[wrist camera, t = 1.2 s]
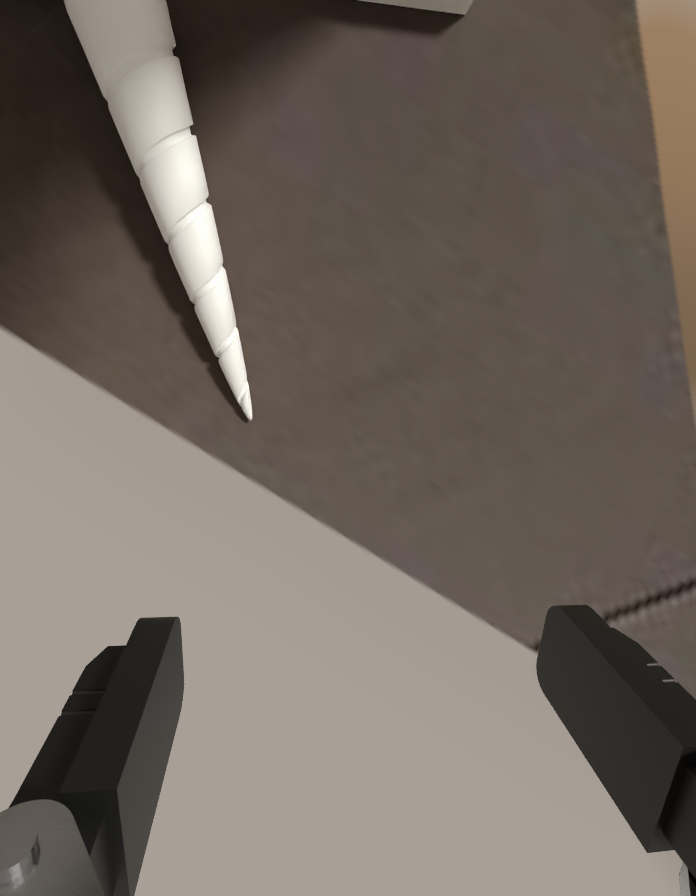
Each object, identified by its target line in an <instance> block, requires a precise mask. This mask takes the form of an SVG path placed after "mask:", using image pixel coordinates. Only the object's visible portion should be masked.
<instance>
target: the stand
mask: <svg viewBox="0 0 696 896" xmlns="http://www.w3.org/2000/svg"><path fill="white" fill-rule="evenodd" d="M359 1H366V2H374V3H381V4H388V5H396V6H403V7H410V8H418V9H425V10H433V11H440V12H447V13H455V14H462V15H465V14H466V13H467V11H468V9H469V8H470V6H471V4H472V2H473V1H474V0H359Z"/></svg>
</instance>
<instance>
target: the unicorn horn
mask: <svg viewBox="0 0 696 896" xmlns="http://www.w3.org/2000/svg"><path fill="white" fill-rule="evenodd" d="M64 3H65V7H66V10H67V13H68V15H69V17H70V20H71V22H72V24H73V26H74V29H75V31H76V33H77V36H78V38H79V40H80V43H81V45H82V47H83V50H84V52H85V54H86V57H87V59H88V61H89V64H90V66H91V69H92V71H93V73H94V76H95V78H96V80H97V83H98V85H99V87H100V90H101V92H102V95H103V97H104V98H105V99H106V100H107V102H108V108H109V111H110V114H111V116H112V118H113V121H114V123H115V125H116V128H117V130H118V133H119V135H120V137H121V140H122V142H123V144H124V147H125V149H126V151H127V154H128V156H129V159H130V161H131V163H132V166H133V168H134V170H135V173H136V174H137V176H138V177H139V178H140V184H141V187H142V189H143V192H144V194H145V196H146V199H147V201H148V204H149V206H150V208H151V211H152V213H153V215H154V218H155V220H156V222H157V225H158V227H159V229H160V232H161V234H162V236H163V239H164V241H165V242H166V243H167V244H168V245H169V253H170V255H171V257H172V260H173V262H174V264H175V267H176V269H177V271H178V273H179V276H180V278H181V280H182V283H183V285H184V287H185V289H186V292H187V294H188V296H189V299H190V301H191V302H192V303H194V304H196V305H195V312H196V314H197V317H198V319H199V321H200V323H201V325H202V328H203V330H204V332H205V334H206V336H207V339H208V341H209V343H210V345H211V347H212V350H213V352H214V354H215V355H216V356H217V357H218V358H219V360H218V361H219V365H220V367H221V369H222V371H223V373H224V375H225V377H226V379H227V381H228V383H229V385H230V387H231V389H232V391H233V393H234V395H235V397H236V399H237V401H238V403H239V405H240V406H241V407H242V410H243V412H244V413H245V415H246V416H247V418H248V419H249V420H252V405H251V398H250V391H249V386H248V382H247V374H246V369H245V363H244V358H243V353H242V348H241V343H240V338H239V333H238V329H237V328H236V318H235V313H234V308H233V304H232V299H231V294H230V289H229V284H228V280H227V275H226V271H225V269H224V268H223V266H222V264H223V256H222V252H221V247H220V242H219V238H218V233H217V229H216V224H215V220H214V215H213V211H212V206H211V205H210V204H208V203H206V199H207V197H208V195H209V193H208V188H207V183H206V179H205V174H204V170H203V165H202V161H201V156H200V152H199V147H198V143H197V138H196V136H195V135H191V132H190V127H189V126H191V125H193V120H192V116H191V111H190V107H189V102H188V98H187V93H186V89H185V84H184V80H183V75H182V71H181V66H180V61H179V58H177V57H176V56H173V51H172V50H173V49H174V48H175V47H176V43H175V39H174V34H173V30H172V26H171V21H170V16H169V12H168V7H167V2H166V0H64Z"/></svg>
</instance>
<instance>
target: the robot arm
mask: <svg viewBox="0 0 696 896" xmlns="http://www.w3.org/2000/svg"><path fill="white" fill-rule="evenodd" d="M537 676H538V680H539V683H540V686H541V689H542V691H543V693H544V694H545V696H546V698H547V699H548V701H549V702H550V704H551V705H552V706H553V708H554V710H555V711H556V713H557V714H558V716H559V718H560V719H561V721H562V722H563V724H564V725H565V727H566V728H567V730H568V731H569V733H570V735H571V736H572V738H573V739H574V741H575V742H576V744H577V745H578V747H579V748H580V750H581V751H582V753H583V755H584V756H585V758H586V759H587V761H588V762H589V764H590V765H591V767H592V768H593V770H594V771H595V773H596V775H597V776H598V778H599V779H600V781H601V782H602V784H603V785H604V787H605V788H606V790H607V792H608V793H609V795H610V796H611V798H612V799H613V801H614V802H615V804H616V805H617V807H618V808H619V810H620V812H621V813H622V815H623V816H624V818H625V819H626V821H627V822H628V824H629V825H630V827H631V828H632V830H633V832H634V833H635V835H636V836H637V838H638V839H639V841H640V842H641V844H642V846H643V847H644V848H645V850H646V852H647V853H651V852H660V851H668V850H675V851H676V852H677V854H678V855H679V856H680V858H681V859H682V861H683V864H682V866H681V869H680V873H679V883H680V896H696V700H695V699H694V698H693V697H692V696H691V695H690V694H689V693H688V692H687V691H686V690H685V689H684V688H683V687H682V686H681V685H680V684H679V683H675V682H674V678H673V677H672V676H671V675H670V674H669V673H668V672H667V671H666V670H665V669H664V668H663V667H662V666H658V662H657V661H656V660H655V659H654V658H653V657H652V656H651V655H650V654H649V653H648V652H647V651H646V650H645V649H644V648H643V647H642V646H640V645H639V644H638V643H637V642H635V641H634V640H632V639H631V638H629V637H627V636H626V635H624V634H623V633H621V632H620V631H618V630H616V629H615V628H611V627H610V626H609V625H608V624H607V623H606V622H605V621H604V620H603V619H602V618H601V617H600V616H599V615H598V614H597V613H596V612H595V611H594V610H593V609H592V608H591V607H589V606H587V605H563V606H552V607H550V608H549V610H548V612H547V615H546V620H545V625H544V629H543V634H542V639H541V644H540V648H539V653H538V658H537ZM183 691H184V671H183V655H182V637H181V623H180V619H179V617H155V618H140V619H139V620H138V621H137V623H136V625H135V627H134V629H133V631H132V634H131V636H130V638H129V640H128V642H127V645H126V646H108V647H107V648H105V649H104V651H102V652H101V653H100V654H99V655H98V656H97V657H96V658H94V659H93V661H91V662H90V663H89V664H88V665H87V666H86V667H85V669H84V671H83V672H82V674H81V676H80V678H79V680H78V682H77V684H76V686H75V688H74V689H73V693H72V695H71V696H69V698H68V700H67V702H66V704H65V706H64V708H63V709H62V714H61V716H59V717H58V719H57V721H56V723H55V724H54V726H53V728H52V730H51V732H50V733H49V735H48V737H47V739H46V741H45V743H44V745H43V746H42V748H41V750H40V752H39V754H38V756H37V757H36V760H35V761H34V763H33V765H32V767H31V769H30V771H29V772H28V774H27V776H26V778H25V780H24V782H23V783H22V785H21V787H20V789H19V791H18V793H17V795H16V796H15V798H14V800H13V802H12V803H11V805H10V806H9V808H8V809H6V810H4V811H2V812H0V896H134V894H135V890H136V886H137V882H138V878H139V873H140V870H141V866H142V862H143V858H144V854H145V850H146V846H147V842H148V838H149V835H150V830H151V826H152V823H153V819H154V815H155V811H156V807H157V802H158V799H159V795H160V791H161V787H162V783H163V779H164V775H165V771H166V767H167V763H168V759H169V756H170V751H171V747H172V744H173V740H174V736H175V732H176V728H177V724H178V720H179V716H180V712H181V707H182V701H183Z"/></svg>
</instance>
